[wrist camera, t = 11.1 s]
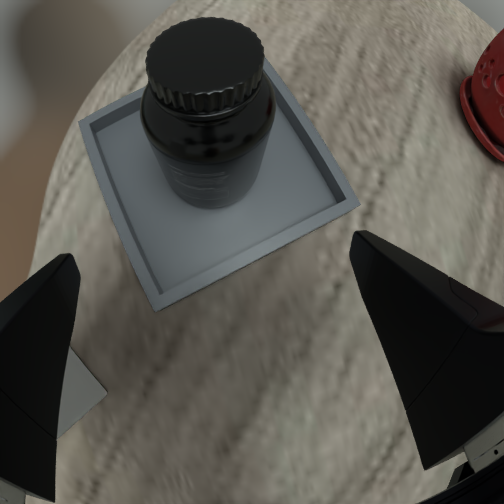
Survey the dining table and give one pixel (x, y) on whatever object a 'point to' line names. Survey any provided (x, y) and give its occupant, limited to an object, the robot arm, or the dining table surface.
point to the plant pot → (487, 98)
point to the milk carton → (77, 393)
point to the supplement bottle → (208, 109)
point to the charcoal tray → (218, 218)
